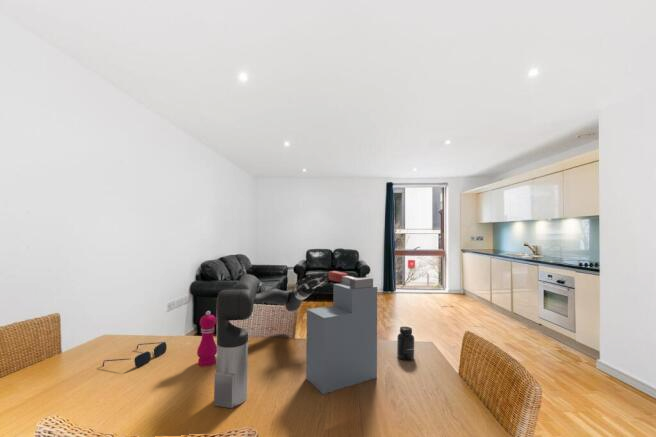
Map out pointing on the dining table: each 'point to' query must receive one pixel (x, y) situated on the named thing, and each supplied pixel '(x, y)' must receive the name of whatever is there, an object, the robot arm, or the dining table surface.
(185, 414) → the dining table surface
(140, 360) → the sunglasses
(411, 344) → the supplement bottle
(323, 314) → the stand
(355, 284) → the grey red bar
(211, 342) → the pepper mill
